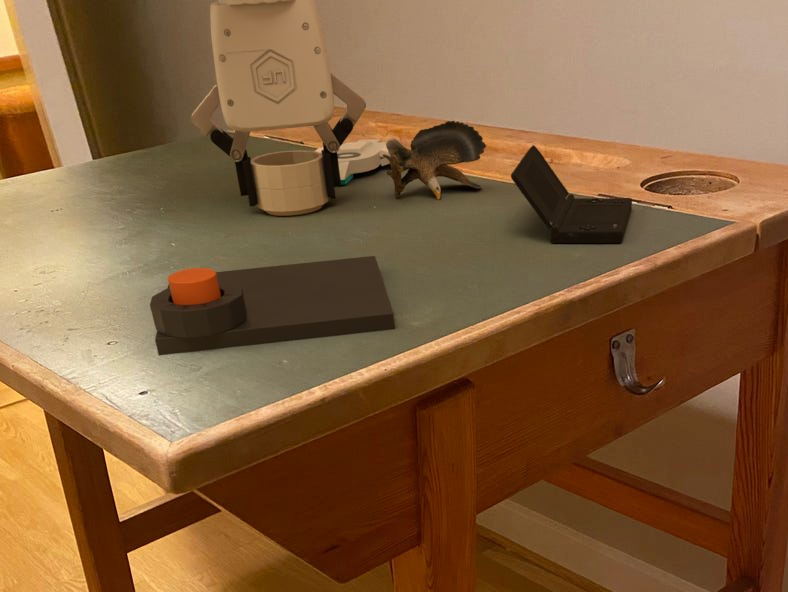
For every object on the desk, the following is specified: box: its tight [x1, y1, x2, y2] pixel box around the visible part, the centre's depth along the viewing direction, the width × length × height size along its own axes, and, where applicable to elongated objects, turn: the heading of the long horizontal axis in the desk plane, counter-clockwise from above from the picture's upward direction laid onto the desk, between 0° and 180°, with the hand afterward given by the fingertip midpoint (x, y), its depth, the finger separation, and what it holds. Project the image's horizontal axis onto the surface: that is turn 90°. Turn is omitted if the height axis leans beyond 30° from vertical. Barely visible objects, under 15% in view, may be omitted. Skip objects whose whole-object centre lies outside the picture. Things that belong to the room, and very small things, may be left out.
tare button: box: [167, 267, 221, 305], centre depth 68 cm, size 3×3×2 cm
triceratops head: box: [383, 120, 487, 200], centre depth 99 cm, size 8×7×9 cm
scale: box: [149, 255, 396, 356], centre depth 74 cm, size 16×15×3 cm
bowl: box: [250, 149, 330, 217], centre depth 97 cm, size 7×7×4 cm
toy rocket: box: [315, 138, 391, 185], centre depth 111 cm, size 16×10×2 cm, turn 172°
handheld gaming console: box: [510, 144, 633, 245], centre depth 87 cm, size 12×7×10 cm
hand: (292, 197), depth 98 cm, fingers closed on bowl, 6 cm apart
